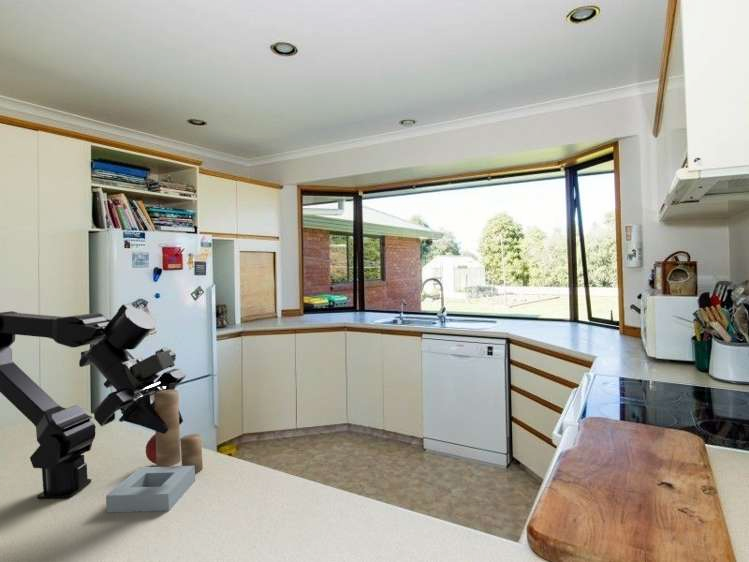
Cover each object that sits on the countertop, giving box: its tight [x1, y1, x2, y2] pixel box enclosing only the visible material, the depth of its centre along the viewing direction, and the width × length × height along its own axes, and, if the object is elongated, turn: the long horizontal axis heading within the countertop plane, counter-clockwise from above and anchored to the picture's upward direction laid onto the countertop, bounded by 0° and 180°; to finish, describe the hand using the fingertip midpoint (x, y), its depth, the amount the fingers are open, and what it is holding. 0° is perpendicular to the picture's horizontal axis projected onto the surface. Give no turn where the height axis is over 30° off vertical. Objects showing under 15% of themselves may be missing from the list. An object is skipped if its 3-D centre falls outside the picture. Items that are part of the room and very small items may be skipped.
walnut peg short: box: [180, 433, 204, 474], centre depth 94 cm, size 4×4×7 cm
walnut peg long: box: [154, 389, 181, 467], centre depth 83 cm, size 4×4×13 cm
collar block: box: [105, 465, 196, 513], centre depth 84 cm, size 11×11×3 cm
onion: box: [145, 433, 157, 465], centre depth 97 cm, size 6×6×8 cm
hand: (174, 427), depth 83 cm, fingers closed on walnut peg long, 4 cm apart
